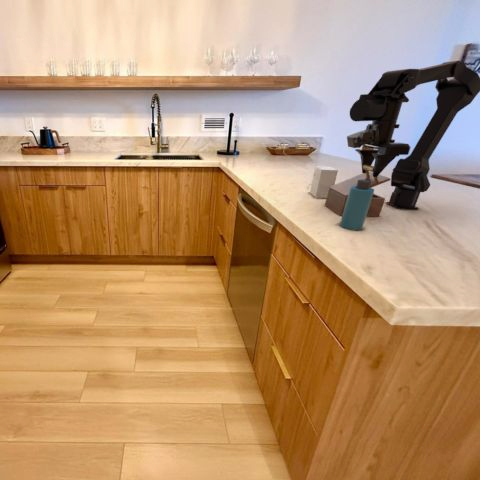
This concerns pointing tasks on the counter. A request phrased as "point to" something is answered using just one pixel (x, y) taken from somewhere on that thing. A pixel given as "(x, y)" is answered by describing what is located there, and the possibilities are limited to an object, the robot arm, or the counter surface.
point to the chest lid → (345, 186)
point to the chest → (339, 201)
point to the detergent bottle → (357, 205)
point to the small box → (322, 181)
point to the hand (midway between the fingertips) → (369, 174)
